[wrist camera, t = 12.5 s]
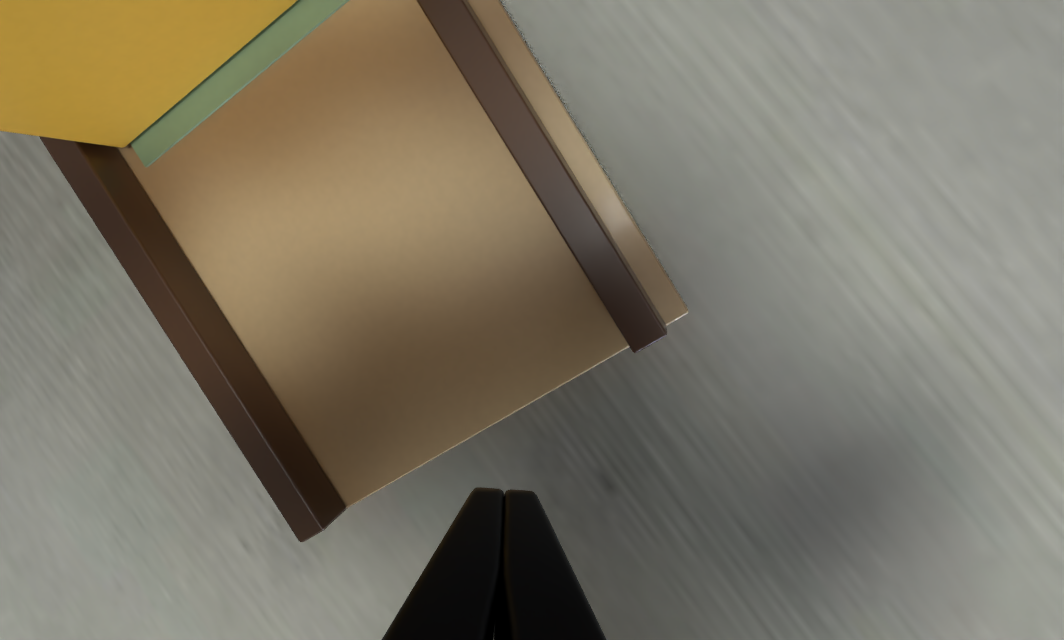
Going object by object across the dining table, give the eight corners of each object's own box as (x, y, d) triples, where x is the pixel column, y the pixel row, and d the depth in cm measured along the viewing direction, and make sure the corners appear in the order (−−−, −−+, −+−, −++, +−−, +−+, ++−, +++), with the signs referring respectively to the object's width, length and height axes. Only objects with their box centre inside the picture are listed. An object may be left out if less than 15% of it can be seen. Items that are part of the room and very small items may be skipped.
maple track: (687, 306, 18) (693, 321, 16) (327, 513, 22) (282, 554, 19) (290, -343, 18) (227, -442, 15) (-18, -26, 21) (-114, -61, 18)
